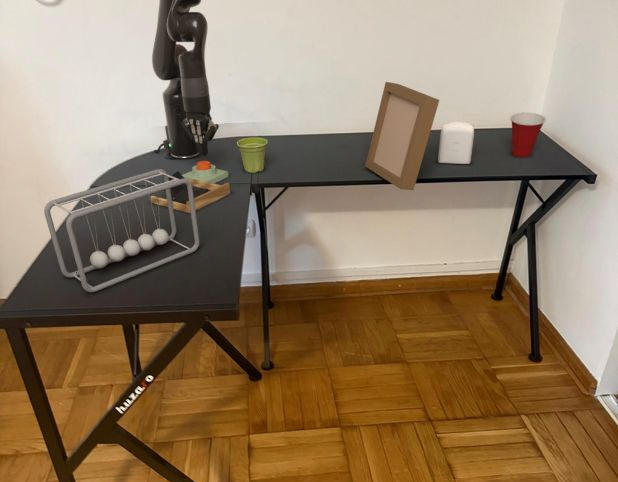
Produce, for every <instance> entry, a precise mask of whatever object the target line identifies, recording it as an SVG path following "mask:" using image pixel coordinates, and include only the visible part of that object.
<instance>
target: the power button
mask: <svg viewBox="0 0 618 482" xmlns="http://www.w3.org/2000/svg"><path fill="white" fill-rule="evenodd" d="M210 164H211V162H210V161H208V160H200V161H198V162H196V165H197V169H198V170H208V169H211V165H210Z"/></svg>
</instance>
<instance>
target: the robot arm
mask: <svg viewBox="0 0 618 482" xmlns="http://www.w3.org/2000/svg"><path fill="white" fill-rule="evenodd" d="M201 3H202V0H159V3H158V13H157V23H156V30H155V36H154V41H153V48H152V52H151V54H152V55H151V65H152V69H153V72H154V74H155V76H156V77H157V78H158V79H160V80H161V81H169V84H168V86H167V87H166V89H164V91H163V92H162V102H163V108H164V114H165V122H166V125H165V126H164V129H165V135H166V139H164V140H162V143H161V144H160V145H159V146H158V148H157V150H156V149H154V150H153V151H154V153H159V152H160V151H161V148H162V147H163V148H164V149H167V150H168V155H169V156H171V158H173V159H177V160H187V159H188V160H189V159H194V158H196V157H198V156H201V157H205V156H208V153H209V146H208V142H210V141H212V140H213V139H214V137H215V135H216V133H217V131H218V130H219V128H220V126H219V124H218V123H214V121H213V118H212V116H211V109H212V105H211V96H210V87H209V81H208V76H207V70H206V60H205V59H206V57H205V56H206V44H207V37H208V31H209V29H208V28H209V26H208V21H207V19H206V17H205V15H204V14H203V13H201V12H199V11H191V9H192V8H194V7H197V6H199V5H200V4H201ZM180 43H194V44H193V48H192V49H191V50H188V49H187V48H186V47H185V46H184V45H183V44H180Z"/></svg>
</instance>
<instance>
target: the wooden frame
mask: <svg viewBox="0 0 618 482" xmlns="http://www.w3.org/2000/svg"><path fill="white" fill-rule="evenodd" d="M190 182H191V184H192V187H195V188H205V189H208V192H206V193H204V194H202V195H200V196H198V197H196V198H194V203H195V211H196V212H197V211H198V210H200V209H202V208H204V207H206V206H207V205H210V204H212V203H214V202H216V201H218V200H220V199H222V198H224V197H226V196H228V195H230V194H231V188H230V183H229V182H225V183H223V184H217V183H214V184H213V183H209V182H205V181H200V180H196V179H190ZM150 200H151V202H150V204H151V203H152V204H154V205H157V206H158V201H159V206H162V207H165V208H168V203H167V198H162V197H159V196H158V197H157V196H156V195H151V196H150ZM172 204H173V210H176V211H179V212H182V213H183V212H184V213H187V214H191V211H190V203H189V201H188V202H186V204H182V203H178V202H174V201H173V200H172Z"/></svg>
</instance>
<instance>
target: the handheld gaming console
mask: <svg viewBox="0 0 618 482" xmlns="http://www.w3.org/2000/svg"><path fill="white" fill-rule="evenodd" d="M182 175H183V174H182V173H181V172H180V171H179V170H177V171H175V173H172V174H171V176H172V177H175V178H177V179H185V178H184V177H183V176H182ZM168 178H169V181H171V180H174V179H172V178H170V177H168ZM161 183H164V180H163V181H162V182H161ZM192 188H193V196H194V198H196V197H198V196H200V195H202V194H204V193H206V192H208V191H209V190H208V189H205V188H200V187H195V186H192ZM163 191H164V192H165V193H166V190H163ZM170 191H171V197H172V201H174V202H178V203H182V204H186V202H188V201H189V196H188V189H187V185H186V184H182V185H178V186H175V187H172V188H170Z"/></svg>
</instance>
